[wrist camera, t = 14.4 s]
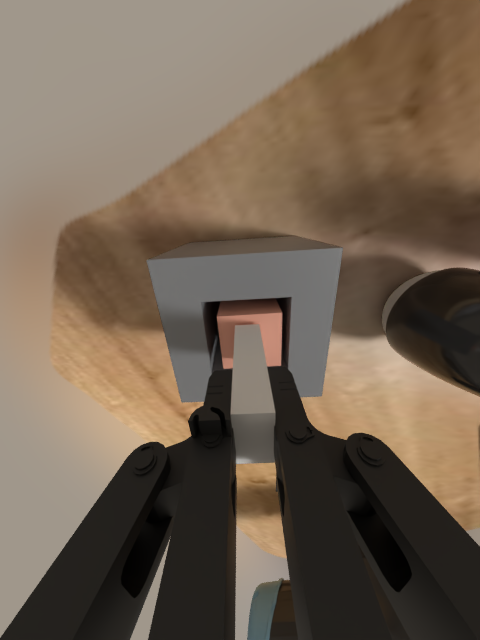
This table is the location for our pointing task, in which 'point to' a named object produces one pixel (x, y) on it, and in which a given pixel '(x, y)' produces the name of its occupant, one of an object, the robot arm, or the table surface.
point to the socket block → (241, 284)
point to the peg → (247, 314)
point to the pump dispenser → (438, 325)
